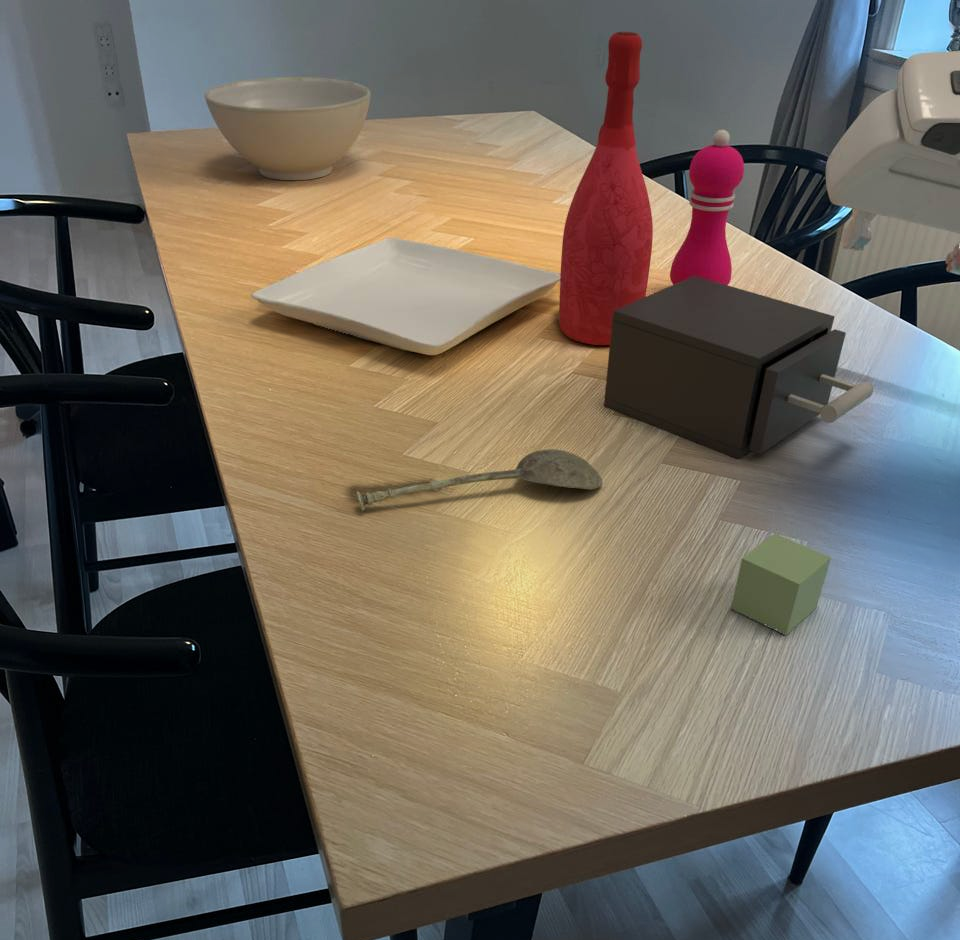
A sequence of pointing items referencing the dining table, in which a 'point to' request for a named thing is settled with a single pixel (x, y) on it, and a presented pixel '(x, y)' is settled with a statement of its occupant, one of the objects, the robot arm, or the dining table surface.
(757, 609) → the block
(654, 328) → the drawer cabinet
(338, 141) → the decorative bowl
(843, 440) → the dining table surface
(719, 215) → the pepper mill
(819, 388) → the open drawer with handle
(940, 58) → the robot arm
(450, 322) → the square plate
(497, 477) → the soupspoon
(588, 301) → the wine bottle
